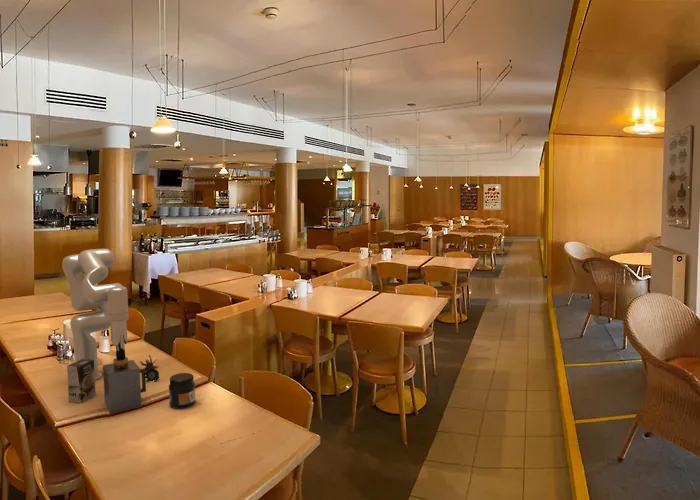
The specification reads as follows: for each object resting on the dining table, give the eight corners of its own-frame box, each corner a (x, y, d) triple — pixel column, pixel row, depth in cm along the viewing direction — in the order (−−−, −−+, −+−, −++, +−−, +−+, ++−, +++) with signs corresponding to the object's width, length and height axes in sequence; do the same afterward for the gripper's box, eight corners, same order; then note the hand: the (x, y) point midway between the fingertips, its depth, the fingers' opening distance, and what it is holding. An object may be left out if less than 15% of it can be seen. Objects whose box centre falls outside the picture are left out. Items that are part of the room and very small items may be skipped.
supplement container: (198, 405, 209) (197, 378, 208) (172, 411, 204) (171, 383, 202) (192, 396, 218) (191, 370, 217) (167, 401, 213) (166, 375, 211)
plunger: (108, 399, 210) (105, 358, 208) (132, 394, 216) (130, 353, 214) (112, 408, 202) (110, 365, 200) (137, 402, 208) (135, 360, 206)
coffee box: (81, 403, 211) (79, 366, 209) (68, 401, 212) (66, 365, 210) (96, 394, 220) (94, 359, 218) (83, 393, 221) (81, 358, 219)
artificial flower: (141, 386, 232) (134, 367, 231) (145, 375, 254) (139, 356, 253) (161, 379, 235) (154, 360, 234) (163, 368, 256) (157, 350, 255)
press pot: (104, 403, 211) (102, 365, 209) (142, 395, 220) (140, 358, 217) (110, 413, 201) (107, 374, 199) (149, 404, 210) (147, 366, 208)
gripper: (105, 314, 209) (107, 356, 211) (112, 321, 196) (114, 366, 199) (124, 311, 213) (126, 352, 215) (132, 318, 201) (134, 362, 203)
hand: (120, 359), depth 207 cm, fingers closed
